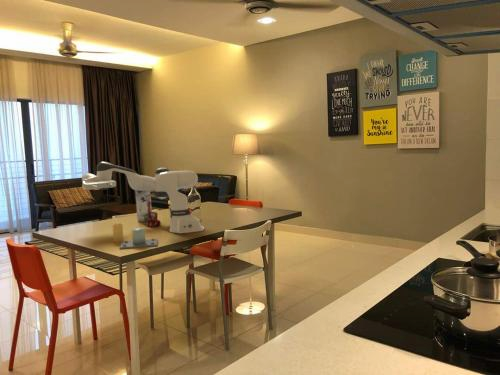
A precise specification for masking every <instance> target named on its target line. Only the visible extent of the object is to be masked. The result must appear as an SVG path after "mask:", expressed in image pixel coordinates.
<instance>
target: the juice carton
mask: <svg viewBox="0 0 500 375" xmlns="http://www.w3.org/2000/svg"><path fill="white" fill-rule="evenodd" d="M134 191H135V193H134V194H135V202H136V203H135V206H136V217H137V218H136V219H137V222H139V223H141V222H142V223H143V222H145V223H146V221H148V214H149V211H151V212H153V210H152V197H151V196H152V195H151V193H152V192H151V190H149V191H138V190H134Z"/></svg>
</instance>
